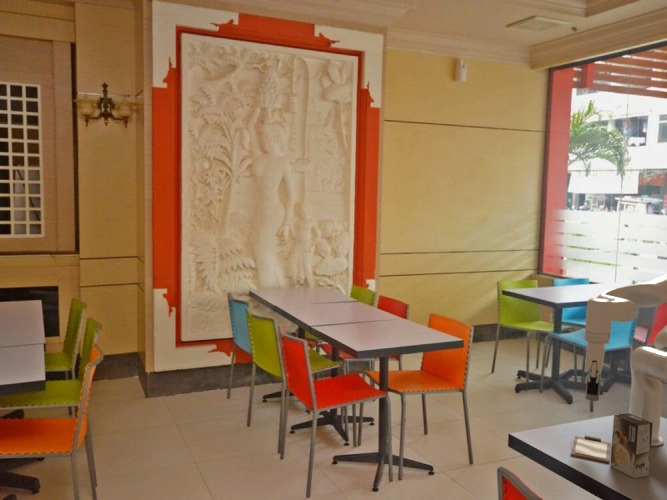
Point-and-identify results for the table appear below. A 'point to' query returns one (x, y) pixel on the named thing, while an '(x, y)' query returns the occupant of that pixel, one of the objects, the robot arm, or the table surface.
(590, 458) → the clipboard
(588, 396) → the teal capped cylinder
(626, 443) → the coffee box
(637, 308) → the robot arm
